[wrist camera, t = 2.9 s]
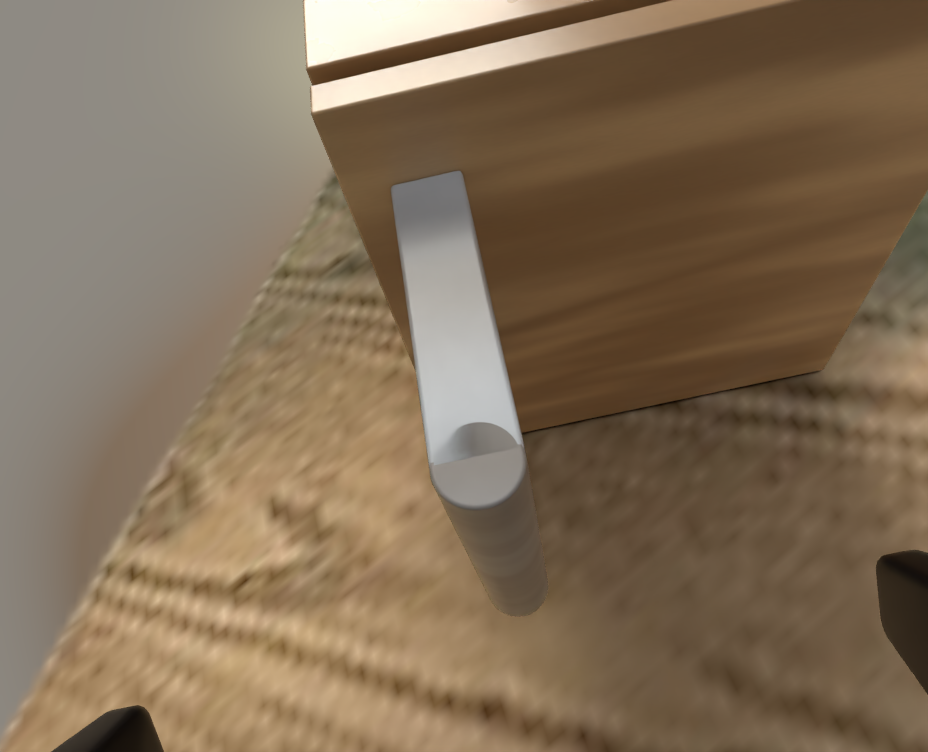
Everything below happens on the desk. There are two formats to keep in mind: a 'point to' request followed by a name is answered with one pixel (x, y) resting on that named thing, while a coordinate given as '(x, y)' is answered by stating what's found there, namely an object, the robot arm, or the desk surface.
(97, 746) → the robot arm
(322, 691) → the desk surface
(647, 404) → the cupboard door
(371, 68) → the cupboard
